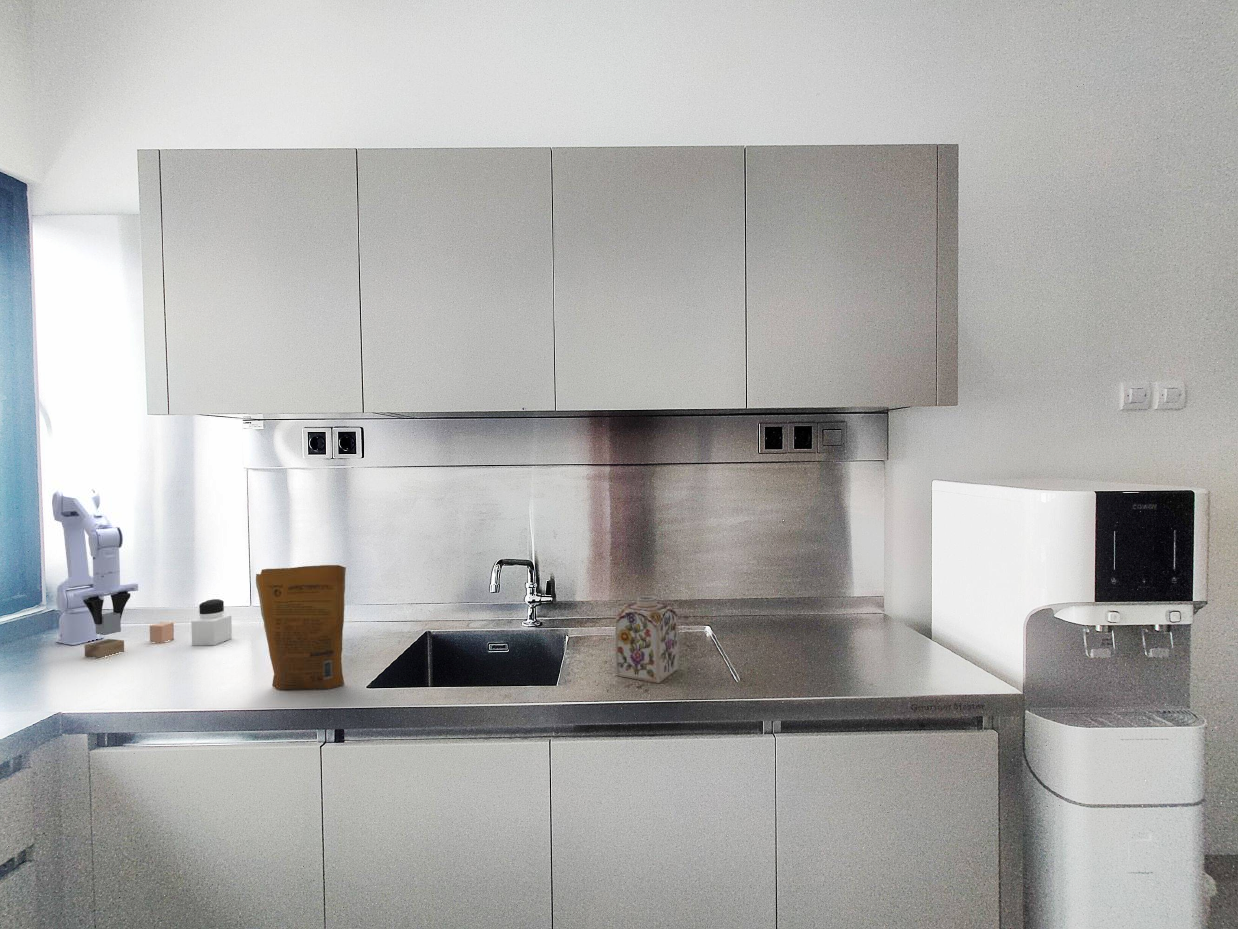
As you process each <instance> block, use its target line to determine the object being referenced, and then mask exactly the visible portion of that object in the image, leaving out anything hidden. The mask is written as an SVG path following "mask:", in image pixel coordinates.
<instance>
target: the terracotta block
mask: <svg viewBox="0 0 1238 929" xmlns="http://www.w3.org/2000/svg"><path fill="white" fill-rule="evenodd" d="M174 624H175V623H174V622H167V621H166V622H163V621H162V622H158V623H155V624H151V625H149V643H150V642H155V643H154V644H164V643H163V642H165V641H168V640H171V639H174V640H175V633H174V632H175V630H174V626H175V625H174ZM171 641H172V640H171ZM168 642H169V641H168ZM165 643H166V642H165Z"/></svg>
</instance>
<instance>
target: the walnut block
mask: <svg viewBox="0 0 1238 929" xmlns="http://www.w3.org/2000/svg"><path fill="white" fill-rule="evenodd" d="M119 652H123V653H124V652H125V640H123V639H114V638H106V639H101V640H97V641H93V642H91V643H86V644H84V657H85V656H86V657H85V658H89V657H95V658H94V659H98V658H102V657H105V656H109V655H112V654H116V653H119ZM116 655H117V654H116ZM109 657H110V656H109ZM102 659H103V658H102Z"/></svg>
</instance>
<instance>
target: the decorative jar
mask: <svg viewBox="0 0 1238 929" xmlns="http://www.w3.org/2000/svg"><path fill="white" fill-rule="evenodd" d="M657 600H658V599H657V597H656V596H653V595H645V596H644V595H643V596H638V597H637V598H636V602H630V603H627V604H624V605H623V606H622V607H621V609H620V611H619V613H618V615H617V616H616V618H615V620H614V621H615V625H614V626H615V627H614V628H615V629H614V630H615V631H614V633H615V634H614V648H615V649H614V653H615V654H614V656H615V658H614V659H615V661H614V663H615V676H617V677H621V678H628V679H632V680H638V681H644V682H649V683H653V684H654V683H655V684H660V683H661V682H663V681H665V679H667V678H668V677H670V676H671V675H672V674H674V673H675V672H677V671H678V670H679V667H680V644H679V643H680V642H679V639H680V638H679V615H678V613H677V611H675V609H674V608H673V606H670V605H669V604H667V603H665V602H659V601H657Z"/></svg>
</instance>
